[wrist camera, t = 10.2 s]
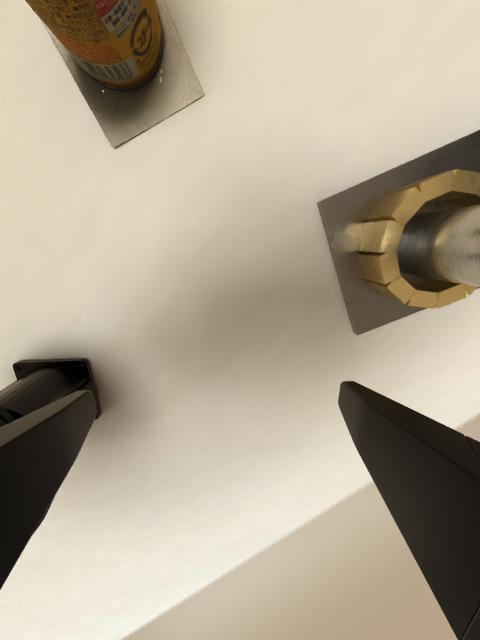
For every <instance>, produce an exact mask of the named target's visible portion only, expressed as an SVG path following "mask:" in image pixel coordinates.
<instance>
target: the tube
mask: <svg viewBox="0 0 480 640" xmlns="http://www.w3.org/2000/svg"><path fill="white" fill-rule="evenodd" d="M396 255H397V260H398V265H399V270H400V273H404V274H410V275H416V276H421V277H427V278H432V279H438V280H444V281H449V282H455V283H460V284H466V285H471V286H477V287H480V205H475V206H468V207H461V208H455V209H448V210H442V211H435V212H429V213H422V214H415V215H413V216H412V217H411V219H410V220H409V221H408V222H407V223H406V224H405V226H404V229H403V232H402V235H401V238H400V241H399V244H398V248H397V251H396Z"/></svg>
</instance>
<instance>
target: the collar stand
mask: <svg viewBox="0 0 480 640" xmlns="http://www.w3.org/2000/svg"><path fill="white" fill-rule="evenodd" d="M317 203H318V207H319V211H320V214H321V218H322V221H323V225H324V228H325V232H326V235H327V239H328V243H329V246H330V250H331V253H332V257H333V260H334V264H335V267H336V271H337V274H338V278H339V282H340V285H341V289H342V292H343V296H344V299H345V303H346V306H347V310H348V314H349V317H350V321H351V324H352V328H353V331H354V333H355V334H356V335H359V334H362V333H364V332H367V331H370V330H372V329H375V328H377V327H380V326H382V325H385V324H388V323H390V322H393V321H395V320H398V319H400V318H403V317H406V316H408V315H411V314H413V313H416V312H418V311H421V310H424V309H426V308H433V309H434V308H435V307H436V308H440V307H442V306H445V305H447V304H450V303H453V302H455V301H458V300H460V299H463V298H466V294H468V295H470V294H471V293H472V292H473V291H474V290H475V289H478V288H480V287H477V286H471V285H466V284H460V283H455V282H449V281H444V280H438V279H432V278H427V277H421V276H416V275H410V274H404V273H400V270H399V265H398V260H397V255H396V251H397V248H398V244H399V241H400V238H401V235H402V232H403V229H404V226H405V224H406V223H407V222H408V221H409V220H410V219H411V217H412V216H413V215H415V214H422V213H429V212H435V211H442V210H448V209H455V208H461V207H468V206H475V205H480V130H479V131H476V132H474V133H472V134H470V135H467V136H465V137H463V138H461V139H459V140H456V141H454V142H452V143H450V144H447V145H445V146H443V147H441V148H438V149H436V150H434V151H432V152H429V153H427V154H425V155H423V156H420V157H418V158H416V159H414V160H412V161H409V162H407V163H405V164H403V165H400V166H398V167H396V168H394V169H391V170H389V171H387V172H385V173H382V174H380V175H378V176H376V177H373V178H371V179H369V180H367V181H364V182H362V183H360V184H358V185H356V186H353V187H351V188H349V189H347V190H344V191H342V192H340V193H338V194H335V195H333V196H331V197H329V198H326V199H324V200H322V201H320V202H317Z"/></svg>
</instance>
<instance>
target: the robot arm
mask: <svg viewBox="0 0 480 640" xmlns="http://www.w3.org/2000/svg"><path fill="white" fill-rule="evenodd" d="M81 363H82V364H83V365H84V366H83V365H81ZM19 365H20V366H21V367H22V368H21V367H20V366H19ZM13 369H14V372H15V375H16V378H17V381H15V382H14V383H12V384H11V385H9V386H8V387H6V388H4V389H3V390H1V391H0V589H1V588H2V586H3V584H4V583H5V581H6V579H7V577H8V576H9V574H10V572H11V570H12V569H13V567H14V565H15V564H16V562H17V560H18V558H19V557H20V555H21V553H22V552H23V550H24V548H25V546H26V545H27V543H28V541H29V539H30V538H31V536H32V535H33V533H34V532H35V531H36V530H37V528H38V527H39V526H40V524H41V523H42V521H43V520H44V518H45V516H46V514H47V512H48V510H49V508H50V506H51V503H52V501H53V499H54V497H55V495H56V493H57V491H58V489H59V488H60V486H61V484H62V482H63V481H64V479H65V477H66V476H67V474H68V472H69V470H70V469H71V467H72V465H73V463H74V462H75V460H76V458H77V456H78V454H79V452H80V450H81V447H82V445H83V443H84V441H85V439H86V437H87V434H88V432H89V430H90V428H91V426H92V424H93V421H94V419H98V418H99V416H100V415H101V409H100V405H99V403H100V402H99V398H98V394H97V390H96V386H95V382H94V381H93V377H92V373H91V369H90V365H89V362H88V361H87V360H86V359H55V360H24V361H18V362H16V363H15V364H13ZM338 404H339V408H340V410H341V413H342V415H343V418H344V420H345V422H346V425H347V427H348V430H349V432H350V435H351V437H352V440H353V442H354V444H355V447H356V448H357V450H358V452H359V454H360V456H361V458H362V460H363V462H364V464H365V466H366V468H367V469H368V471H369V473H370V475H371V477H372V479H373V481H374V483H375V484H376V486H377V488H378V490H379V492H380V494H381V496H382V498H383V499H384V501H385V503H386V505H387V507H388V509H389V511H390V513H391V515H392V516H393V518H394V520H395V522H396V524H397V526H398V528H399V530H400V532H401V533H402V535H403V537H404V539H405V541H406V543H407V545H408V547H409V549H410V550H411V552H412V554H413V556H414V558H415V560H416V562H417V564H418V565H419V567H420V569H421V571H422V573H423V575H424V577H425V579H426V580H427V582H428V584H429V586H430V588H431V590H432V592H433V594H434V596H435V597H436V599H437V601H438V603H439V605H440V607H441V609H442V611H443V613H444V614H445V616H446V618H447V620H448V622H449V624H450V626H451V628H452V629H453V631H454V633H455V635H456V637H457V639H458V640H480V442H478V441H476V440H474V439H472V438H470V437H468V436H464V434H462V433H460V432H458V431H456V430H453V429H451V428H449V427H447V426H445V425H443V424H441V423H439V422H437V421H435V420H433V419H431V418H429V417H427V416H424V415H422V414H420V413H418V412H416V411H414V410H412V409H410V408H408V407H406V406H404V405H402V404H400V403H398V402H396V401H393V400H391V399H389V398H387V397H385V396H383V395H381V394H379V393H377V392H375V391H373V390H371V389H369V388H367V387H365V386H362V385H360V384H358V383H356V382H354V381H344V382H342V383H341V385H340V392H339V399H338Z"/></svg>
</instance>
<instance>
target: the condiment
mask: <svg viewBox="0 0 480 640" xmlns="http://www.w3.org/2000/svg"><path fill="white" fill-rule="evenodd" d="M25 1H26V2H27V3H28V4H29V5H30V7H31V8H32V9H33V11H34V12H35V13H36V14H37V15H38V16H39V18H40V19H41V21H42V23H43V25H44V26H45V28H46V30H47V32H48V33H49V35H50V37H51V39H52V40H53V42H54V44H55V46H56V48H57V49H58V51H59V53H60V54H61V56H62V58H63V60H64V62H65V64H66V66H67V67H68V69H69V70H70V72H71V74H72V76H73V78H74V80H75V82H76V83H77V85H78V87H79V89H80V91H81V93H82V95H83V96H84V98H85V100H86V101H87V103H88V105H89V107H90V109H91V110H92V112H93V114H94V115H95V117H96V119H97V121H98V122H99V124H100V126H101V128H102V130H103V132H104V134H105V136H106V137H107V139H108V141H109V142H110V144H111V146H112V148H114V147H116V146H118V145H119V144H121V143H122V142H126V141H128V140H129V139H131V138H133V137H134V136H136V135H138V134H139V133H141V132H143V131H145V130H147V129H149V128H150V127H152V126H154V125H155V124H157V123H159V122H160V121H162V120H165V119H167V118H168V117H169V116H170V115H172V114H173V113H175V112H177V111H178V110H180V109H182V108H184V107H186V106H187V105H189V104H190V103H191V102H193V101H195V100H196V99H198V98H200V97H201V96H203V95H204V94H203V91H202V89H201V87H200V84H199V82H198V79H197V77H196V75H195V73H194V70H193V68H192V65H191V63H190V61H189V58H188V56H187V54H186V52H185V49H184V47H183V44H182V42H181V40H180V37H179V35H178V33H177V30H176V28H175V26H174V24H173V21H172V19H171V17H170V14H169V12H168V10H167V7H166V5H165V3H164V0H25ZM162 68H163V74H160V70H161V69H162ZM160 76H162V78H163V79H162V83H160V80H159V79H160ZM102 90H104V93H103V92H102Z"/></svg>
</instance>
